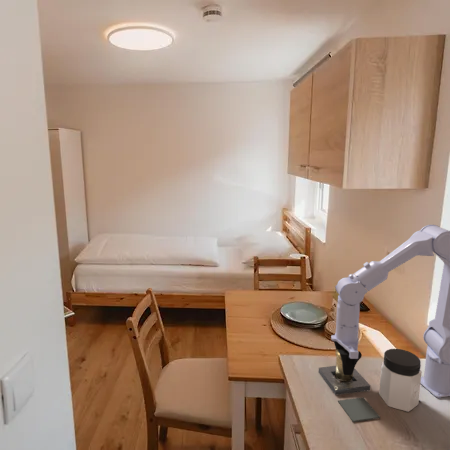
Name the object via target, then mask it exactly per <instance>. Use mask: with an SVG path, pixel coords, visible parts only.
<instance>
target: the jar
mask: <svg viewBox="0 0 450 450" xmlns="http://www.w3.org/2000/svg"><path fill="white" fill-rule="evenodd" d="M421 366H422V365H421V359H420V358H419V357H418V356H417V355H416V354H414V353H413V352H411V351H408V350H405V349H401V348H389V349H387V350H385V351H384V355H383V361H382V362H381V366H380V377H379V378H380V379H379V390H378V391H379V392H378V395H379V396H380V397H381V399H382V400H383V401H384V403H385V404H386V405H387V407H390V408H394V409H396V410H400V411H404V412H410V411H412V410H413V409H414V408H416V406H418V405H419V402H420V401H419V399H420V392H421V383H420V382H421V377H422V373H423V372H422V370H421Z"/></svg>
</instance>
